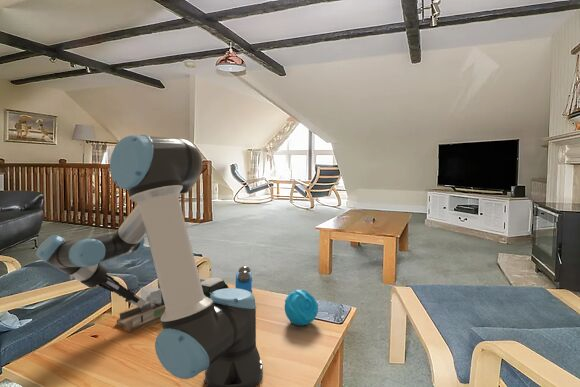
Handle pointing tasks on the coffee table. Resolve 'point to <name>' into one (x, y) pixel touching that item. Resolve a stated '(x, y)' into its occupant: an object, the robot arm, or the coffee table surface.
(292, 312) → the blue round piece
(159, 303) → the carriage
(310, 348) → the coffee table surface
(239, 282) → the alarm clock
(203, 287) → the miniature car
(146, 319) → the frame
